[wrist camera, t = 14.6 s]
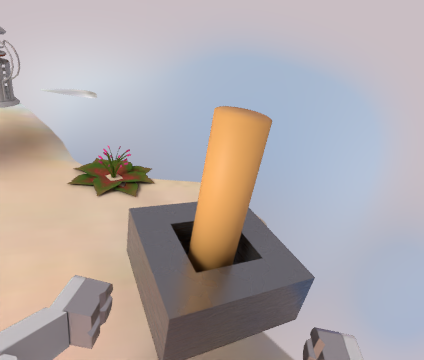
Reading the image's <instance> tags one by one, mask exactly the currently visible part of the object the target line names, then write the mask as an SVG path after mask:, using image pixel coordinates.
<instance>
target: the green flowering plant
mask: <svg viewBox="0 0 424 360" xmlns="http://www.w3.org/2000/svg"><path fill="white" fill-rule="evenodd" d="M108 147H109V146H108ZM119 149H120V148H119ZM104 151H105V152H106V153H105V152H104V154H105V155H107V154H108V153H107V151H106V150H105V149H104ZM128 151H130V150H127V151H126V152H128ZM126 152H125V153H126ZM123 155H124V154H123ZM123 155H122V156H123ZM130 155H131V154H128V155H126V156H130ZM107 156H108V159H109V160H103V158H102V157H101V156H99V157H100V158H101V159H100V160H99V159H97V158H96V160H95V161H94V162H93V163H89V164H86V165H83V166H81V167H79V168H74V169H77V170H82V171H84V172H85V173H87V174H82V175H79V176H77V177H76V178H74V179H73V180H72V182H69V183H67V184H87V185H94V187H95V190H96V191H97V196H99V195H100V194H102V193H104V192H105V191H107V190H109V189H111V188H113V189H116V190H119V191H122V192H125V193H127V194H131V195H133V196H135V197H136V191H137V189H138V185H137V184H136V183H135V181H143V182H151V183H154V182H152V180H151V179H150V178H148V176H147V175H146V173H147V172H149V171H150V170H151V169H150V168H144V167H141V166H132V164H131V162H127V161H126V160H127V159H125V160H123V161H120V160H122V159H123V158H124V157H126V156H124V157H123V158H121V157H122V156H121V157H120V155H119V156H118V158H119V157H120V158H121V159H120V158H119V159H120V160H119V159H118V158H117V160H114V161H113V157H112V155H110V156H111V158H112V161H111V159H110V156H109V154H108V155H107ZM109 174H111V176H112V177H113V178H114V177H116V175H120V176H122V178H123V179H120V180H115V181H110V180H109V179H108V178H107V177H106V176H105V175H109ZM121 181H122V182H126V183H125V186H124V187H122V186H119V184H121Z"/></svg>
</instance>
